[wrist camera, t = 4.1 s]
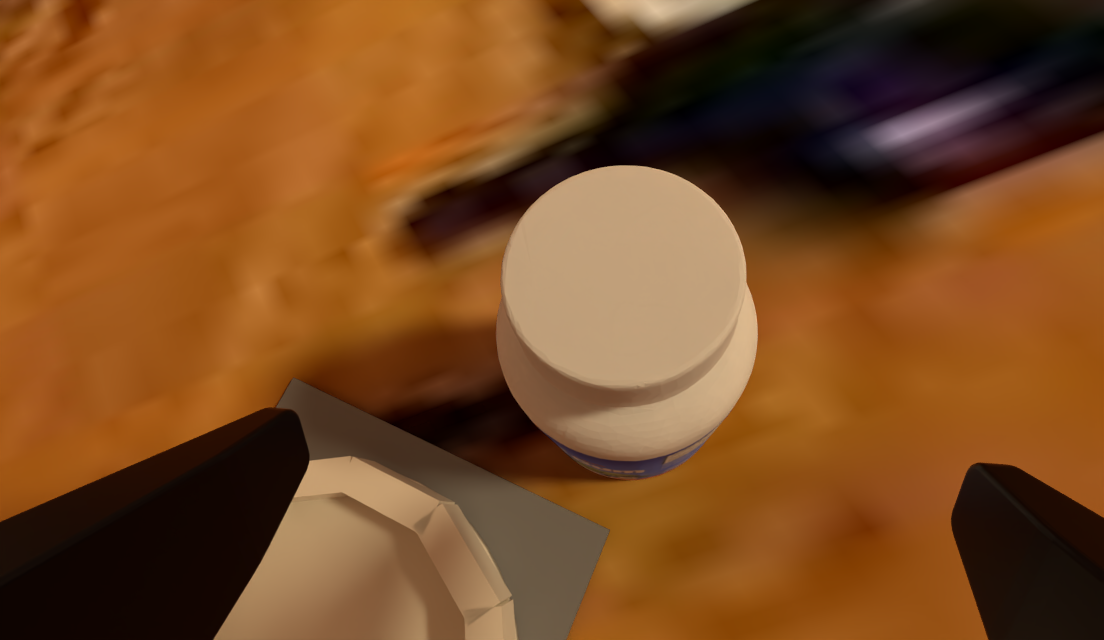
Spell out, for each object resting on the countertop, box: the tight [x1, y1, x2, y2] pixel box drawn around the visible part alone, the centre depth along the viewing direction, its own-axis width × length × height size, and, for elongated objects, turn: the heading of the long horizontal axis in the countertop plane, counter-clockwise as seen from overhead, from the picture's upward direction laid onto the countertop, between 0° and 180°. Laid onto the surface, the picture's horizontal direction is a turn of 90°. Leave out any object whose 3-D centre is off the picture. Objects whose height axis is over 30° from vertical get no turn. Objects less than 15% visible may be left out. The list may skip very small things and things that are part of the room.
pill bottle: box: [496, 166, 758, 480], centre depth 14 cm, size 5×5×10 cm
